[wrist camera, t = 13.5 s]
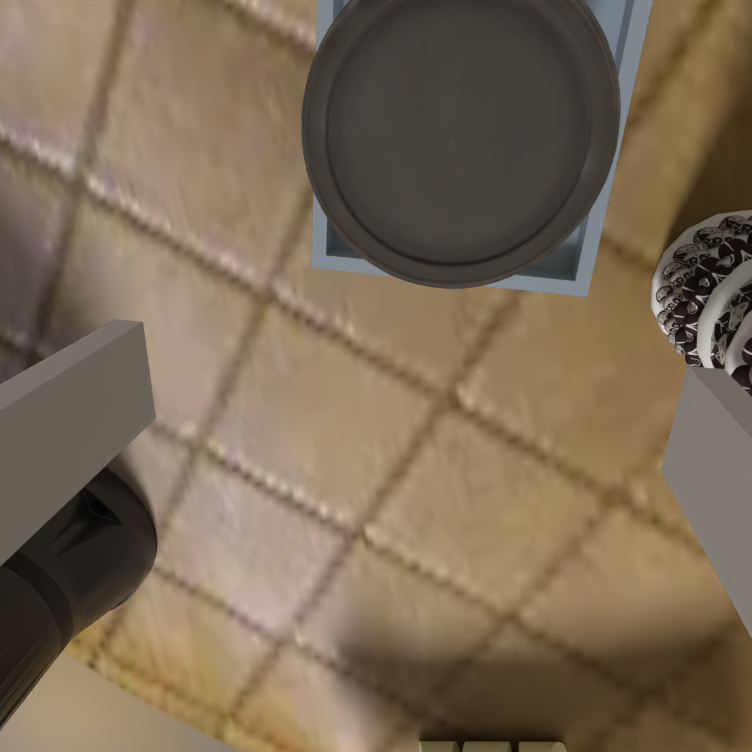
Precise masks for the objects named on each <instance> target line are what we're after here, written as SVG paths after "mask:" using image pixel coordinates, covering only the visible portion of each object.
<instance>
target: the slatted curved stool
mask: <svg viewBox="0 0 752 752" xmlns="http://www.w3.org/2000/svg"><path fill="white" fill-rule="evenodd" d="M418 746H419V750H420V752H460V750H459V746H458V744H457V742H456V741H419V742H418ZM462 752H512V749H511V745H510V742H485V741H466V742H465V743H464V745H463V751H462ZM519 752H567V751H566V748H565V746H564V744H563V743H561V742H519Z"/></svg>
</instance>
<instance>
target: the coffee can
mask: <svg viewBox="0 0 752 752" xmlns="http://www.w3.org/2000/svg"><path fill="white" fill-rule="evenodd" d="M620 114H621V100H620V87H619V79H618V73H617V69H616V65H615V61H614V58H613V55H612V52H611V49H610V46H609V44H608V41H607V38H606V36H605V34H604V32H603V30H602V28H601V26H600V24H599V22H598V21H597V19H596V17H595V16H594V14H593V13H592V11H591V10H590V8H589V7H588V5H587V4H586V2H585V1H584V0H349V1H348V3H347V4H346V5H345V6H344V8H343V9H342V10H341V11H340V13H339V14H338V15H337V17H336V18H335V19H334V21H333V22H332V24H331V25H330V27H329V29H328V30H327V32H326V34H325V36H324V38H323V39H322V41H321V43H320V45H319V48H318V50H317V52H316V54H315V57H314V59H313V63H312V66H311V69H310V72H309V75H308V79H307V83H306V88H305V94H304V100H303V108H302V145H303V154H304V159H305V164H306V169H307V173H308V177H309V180H310V183H311V186H312V189H313V191H314V194H315V197H316V198H317V200H318V202H319V204H320V206H321V208H322V210H323V212H324V214H325V215H326V217H327V219H328V220H329V222H330V223H331V224H332V226H333V227H334V229H335V230H336V231H337V232H338V234H339V235H340V236H341V237H342V239H343V240H344V241H345V242H346V243H347V244H348V245H349V246H350V247H351V248H352V249H353V250H354V251H355V252H356V253H358V254H359V255H360V256H361V257H362V258H363V259H364V260H366V261H367V262H369V263H370V264H372V265H373V266H375V267H376V268H378V269H380V270H382V271H384V272H385V273H387V274H389V275H391V276H394V277H397V278H399V279H402V280H404V281H407V282H411V283H415V284H418V285H423V286H428V287H435V288H445V289H463V288H472V287H478V286H483V285H488V284H492V283H495V282H498V281H501V280H504V279H507V278H509V277H512V276H514V275H516V274H518V273H520V272H522V271H524V270H526V269H528V268H530V267H532V266H534V265H535V264H537V263H538V262H539V261H541V260H542V259H544V258H545V257H547V256H549V255H550V254H551V253H552V252H554V251H555V250H556V249H557V248H558V247H559V246H560V245H561V244H562V243H563V242H564V241H565V240H566V239H567V238H568V237H569V236H570V235H571V234H572V233H573V232H574V231H575V230H576V229H577V228H578V226H579V225H580V224H581V223H582V221H583V220H584V219H585V217H586V216H587V214H588V213H589V211H590V210H591V208H592V206H593V205H594V203H595V201H596V200H597V198H598V196H599V194H600V193H601V190H602V188H603V186H604V184H605V182H606V180H607V177H608V175H609V172H610V169H611V166H612V163H613V159H614V156H615V152H616V148H617V142H618V136H619V127H620Z"/></svg>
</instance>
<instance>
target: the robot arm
mask: <svg viewBox="0 0 752 752" xmlns="http://www.w3.org/2000/svg"><path fill="white" fill-rule="evenodd" d="M155 418H156V415H155V408H154V401H153V393H152V386H151V378H150V371H149V364H148V356H147V349H146V341H145V334H144V327H143V322H139V321H126V320H113V321H111V322H109V323H108V324H106V325H104V326H102V327H100V328H99V329H97V330H95V331H93V332H92V333H90V334H88V335H86V336H85V337H83V338H81V339H79V340H78V341H76V342H74V343H72V344H70V345H69V346H67V347H65V348H63V349H62V350H60V351H58V352H56V353H55V354H53V355H51V356H49V357H47V358H46V359H44V360H42V361H40V362H39V363H37V364H35V365H33V366H32V367H30V368H28V369H26V370H24V371H23V372H21V373H19V374H17V375H16V376H14V377H12V378H10V379H9V380H7V381H5V382H3V383H1V384H0V731H1V730H2V728H3V727H4V726H5V724H6V723H7V722H8V721H9V719H10V718H11V717H12V715H13V714H14V713H15V711H16V710H17V709H18V708H19V706H20V705H21V704H22V702H23V701H24V700H25V698H26V697H27V696H28V694H29V693H30V692H31V691H32V689H33V688H34V687H35V686H36V684H37V683H38V682H39V680H40V679H41V678H42V676H43V675H44V674H45V672H46V671H47V670H48V669H49V667H50V666H51V665H52V663H53V662H54V661H55V660H56V658H57V657H58V656H59V655H60V653H61V652H62V651H63V649H64V648H65V647H66V646H67V644H68V643H69V642H70V640H71V639H72V638H74V637H75V636H76V635H78V634H79V633H80V632H82V631H83V630H84V629H86V628H87V627H88V626H90V625H91V624H93V623H94V622H95V621H97V620H98V619H99V618H101V617H102V616H103V615H104V614H106V613H107V612H108V611H110V610H113V609H115V608H116V607H118V606H119V605H121V604H123V603H124V602H125V601H127V600H128V599H129V598H130V597H131V596H132V595H133V594H134V593H135V592H136V590H137V589H138V587H139V586H140V585H141V583H142V582H143V581H144V579H145V578H146V577H147V575H148V574H149V572H150V570H151V569H152V566H153V564H154V561H155V556H156V539H155V534H154V529H153V526H152V524H151V521H150V519H149V517H148V515H147V513H146V511H145V509H144V507H143V506H142V504H141V503H140V501H139V500H138V499H137V497H136V496H135V495H134V494H133V493H132V491H131V490H130V489H129V488H128V487H127V486H126V485H125V484H124V483H123V482H122V481H121V480H119V479H118V478H117V477H116V476H114V475H113V474H112V473H110V472H109V471H108V470H106V469H105V468H104V467H105V466H106V465H107V464H108V463H109V462H110V461H111V460H112V459H113V458H115V457H116V456H117V455H118V454H119V453H120V452H121V451H122V450H123V449H124V448H125V447H126V446H127V445H128V444H129V443H130V442H131V441H132V440H133V439H134V438H136V437H137V436H138V435H139V434H140V433H141V432H142V431H143V430H144V429H145V428H146V427H147V426H148V425H149V424H150V423H151V422H152V421H153V420H154V419H155ZM661 471H662V473H663V475H664V477H665V479H666V481H667V482H668V484H669V486H670V488H671V490H672V492H673V494H674V495H675V497H676V499H677V501H678V503H679V505H680V507H681V508H682V510H683V512H684V514H685V516H686V518H687V520H688V521H689V523H690V525H691V527H692V529H693V531H694V533H695V534H696V536H697V538H698V540H699V542H700V544H701V546H702V547H703V549H704V551H705V553H706V555H707V557H708V559H709V560H710V562H711V564H712V566H713V568H714V570H715V572H716V573H717V575H718V577H719V579H720V581H721V583H722V585H723V586H724V588H725V590H726V592H727V594H728V596H729V598H730V599H731V601H732V603H733V605H734V607H735V609H736V611H737V612H738V614H739V616H740V618H741V620H742V622H743V624H744V625H745V627H746V629H747V631H748V633H749V635H750V636H751V638H752V396H751V395H750V394H749V393H748V392H747V391H746V390H745V389H744V388H743V387H742V386H741V385H740V384H739V383H738V382H737V381H735V380H734V379H733V378H732V377H731V376H730V375H729V374H728V373H727V372H726V371H725V370H724V369H716V368H703V367H691V366H688V369H687V373H686V377H685V380H684V384H683V388H682V392H681V395H680V399H679V403H678V407H677V410H676V414H675V418H674V421H673V425H672V429H671V433H670V436H669V440H668V444H667V448H666V451H665V455H664V459H663V463H662V466H661Z"/></svg>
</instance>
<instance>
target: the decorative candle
mask: <svg viewBox="0 0 752 752" xmlns="http://www.w3.org/2000/svg"><path fill="white" fill-rule="evenodd" d="M651 308H652V310H653V312H654V315H655V317H656V319H657V321H658V323H659V325H660V327H661V330H662V331H663V332H664V333H666V334H667V335H668V336H667V340H668V341H669V342H670V343H672V344H675V350H676V352H678V353H680V354H686V355H685V361H686V363H687V364H689V365H690V366H692V367H703V368H716V369H724V370H725V371H726V372H727V373H728V374H729V375H730V376H731V377H732V378H733V379H734V380H735V381H737V382H738V383H739V384H740V385H741V386H742V387H743V388H744V389H745V390H746V391H747V392H748V393H749V394H750V395H751V396H752V210H744V211H736V212H728V213H720V214H716V215H714V216H712V217H710V218H708V219H706V220H704V221H702V222H700V223H698V224H696V225H694V226H692V227H690V228H688V229H686V230H685V231H684V232H683V233H682V234H681V235H680V236H679V237H678V238H677V239H676V240H675V241H674V242H673V243H672V244H671V245H670V246H669V247H668V248H667V249H666V250H665V251H664V252H663V255H662V257H661V259H660V261H659V263H658V266H657V268H656V270H655V272H654V274H653V277H652V279H651Z"/></svg>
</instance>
